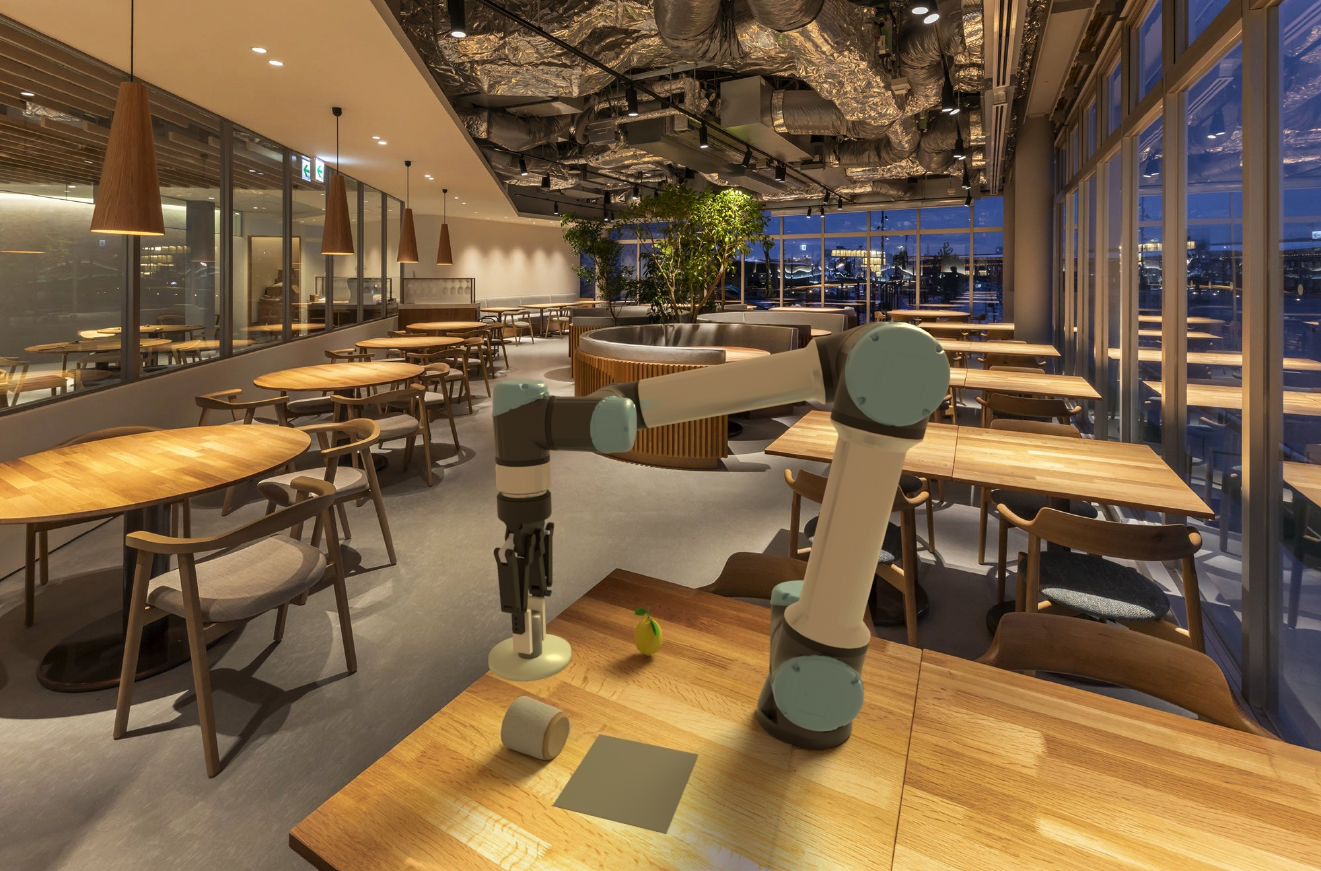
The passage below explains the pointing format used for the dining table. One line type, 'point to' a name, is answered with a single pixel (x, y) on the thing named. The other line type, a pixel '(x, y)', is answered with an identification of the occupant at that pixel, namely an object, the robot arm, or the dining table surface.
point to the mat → (629, 783)
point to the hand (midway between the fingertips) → (530, 644)
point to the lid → (530, 656)
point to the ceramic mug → (535, 728)
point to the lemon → (647, 634)
